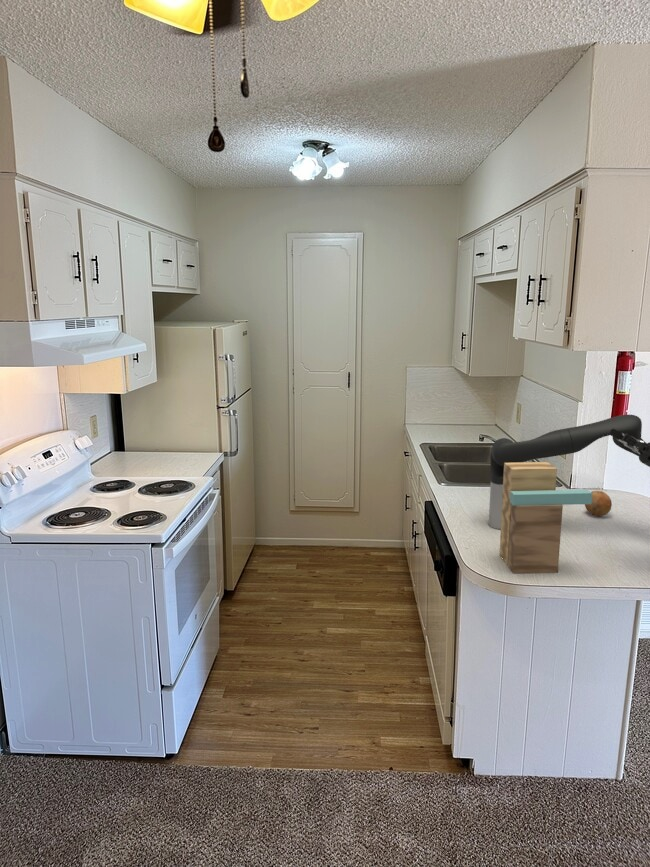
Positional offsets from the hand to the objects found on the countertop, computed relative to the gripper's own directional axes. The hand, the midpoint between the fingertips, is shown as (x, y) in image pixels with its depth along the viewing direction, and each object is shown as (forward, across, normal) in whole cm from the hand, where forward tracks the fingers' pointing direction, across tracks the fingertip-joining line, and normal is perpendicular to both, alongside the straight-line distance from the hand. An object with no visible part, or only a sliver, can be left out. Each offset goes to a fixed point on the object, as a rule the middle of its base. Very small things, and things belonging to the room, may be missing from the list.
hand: (617, 433), depth 182 cm
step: (0, +2, +49) cm, 49 cm away
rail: (+7, +2, +28) cm, 29 cm away
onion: (-38, -45, +28) cm, 65 cm away
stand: (0, -5, +49) cm, 50 cm away
